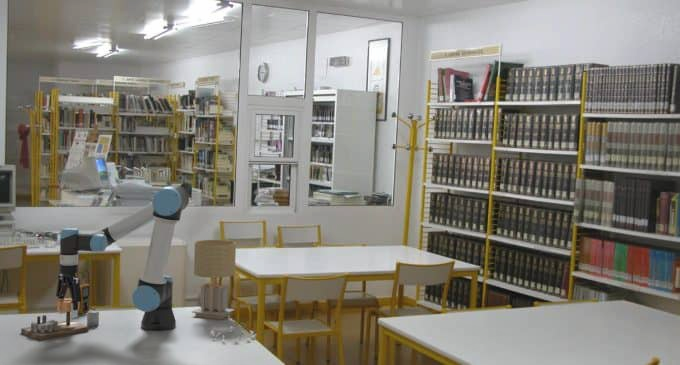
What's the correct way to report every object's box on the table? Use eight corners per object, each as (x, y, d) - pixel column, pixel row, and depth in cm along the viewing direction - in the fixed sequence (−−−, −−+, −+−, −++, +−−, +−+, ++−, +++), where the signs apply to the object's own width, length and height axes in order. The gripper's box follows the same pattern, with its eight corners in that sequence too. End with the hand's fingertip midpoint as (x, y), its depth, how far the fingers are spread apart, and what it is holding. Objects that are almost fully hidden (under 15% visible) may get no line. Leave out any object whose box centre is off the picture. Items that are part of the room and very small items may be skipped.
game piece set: (201, 341, 316) (201, 332, 316) (225, 330, 335) (225, 322, 335) (242, 347, 310) (242, 338, 310) (264, 336, 328) (264, 327, 328)
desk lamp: (241, 313, 368) (242, 241, 366) (222, 321, 350) (223, 246, 348) (205, 309, 374) (207, 238, 372) (185, 317, 356) (186, 243, 354)
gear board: (88, 331, 325) (88, 313, 325) (40, 340, 308) (40, 321, 308) (68, 324, 336) (69, 306, 335) (21, 333, 319) (21, 314, 318)
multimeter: (91, 317, 351) (92, 274, 350) (72, 315, 353) (72, 273, 352) (107, 310, 365) (107, 269, 364) (88, 308, 367) (89, 268, 366)
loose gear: (83, 309, 327) (83, 300, 326) (64, 312, 320) (64, 303, 319) (72, 306, 332) (72, 297, 332) (53, 309, 326) (53, 300, 325)
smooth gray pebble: (100, 325, 336) (101, 312, 336) (90, 327, 332) (91, 313, 332) (94, 323, 339) (94, 310, 339) (84, 325, 335) (84, 311, 335)
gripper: (47, 261, 329) (47, 312, 330) (74, 268, 315) (73, 321, 316) (63, 259, 335) (63, 309, 336) (90, 266, 321) (89, 318, 322)
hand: (68, 315), depth 326 cm, fingers closed on loose gear, 9 cm apart
